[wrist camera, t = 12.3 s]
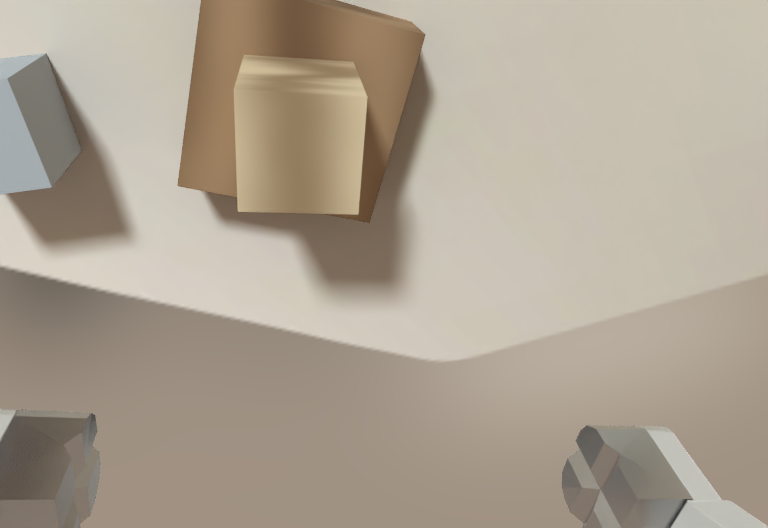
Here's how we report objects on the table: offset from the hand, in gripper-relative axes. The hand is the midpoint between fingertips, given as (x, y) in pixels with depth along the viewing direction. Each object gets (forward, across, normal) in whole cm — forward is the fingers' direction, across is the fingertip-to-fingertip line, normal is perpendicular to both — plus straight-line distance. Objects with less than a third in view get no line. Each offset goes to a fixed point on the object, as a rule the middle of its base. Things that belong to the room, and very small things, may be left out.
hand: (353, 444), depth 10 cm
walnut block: (+26, +1, +1) cm, 26 cm away
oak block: (+22, 0, +1) cm, 22 cm away
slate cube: (+25, +14, +4) cm, 29 cm away
